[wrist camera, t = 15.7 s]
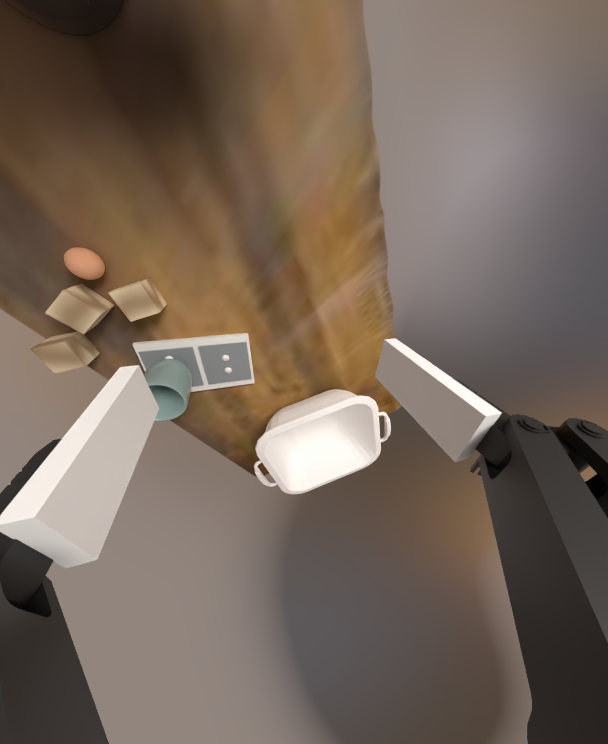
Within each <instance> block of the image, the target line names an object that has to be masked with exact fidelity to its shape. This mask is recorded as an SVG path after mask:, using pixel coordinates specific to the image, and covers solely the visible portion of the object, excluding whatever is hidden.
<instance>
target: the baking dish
mask: <svg viewBox="0 0 608 744" xmlns="http://www.w3.org/2000/svg"><path fill="white" fill-rule="evenodd" d="M380 415H384V423H385V430H384V431H385V436H384V437H383V438H382V439H380V429H379V416H380ZM390 426H391V425H390V419H389V417H388V416H387V414H386V413H385V412H379V413H378V406H377V404H376V401H375V400H373V399H372V398H370V397H367V396H357V395H355V394H353V393H351V392H349V391H345V390H338V389H334V390H328V391H325V392H323V393H320V394H318V395H315V396H312V397H310V398H307V399H305V400H302V401H299V402H297V403H294V404H292V405H289V406H287V407H284V408H282V409H280V410H279V411H278V412H276V413H275V415H274V416H273V417H272V418H271V419H270V421H269V422H268V425H267V428H266V431H265V433H264V434H263V435H262V436H261V437H260V438H259V439H258V441H257V444H256V447H255V450H256V453H257V456H258V457H259V459H260V460H259V461H257V462H256V463H255V464H254V469H255V474H256V476H257V477H258V479H259V480H260V481H261V482H262V483H263V484H264V485H265V486H269V487H273V486H275V485H277V484H278V486H279V487H280V488H281V490H282V491H284V492H285V493H288V494H300V493H304V492H307V491H310V490H312V489H315V488H317V487H319V486H322V485H324V484H326V483H329V482H331V481H334V480H336V479H339V478H341V477H343V476H346V475H348V474H351V473H353V472H355V471H358V470H360V469H363V468H365V467H366V466H368V465H370V464H371V463H372V462H374V461H375V460H376V459H377V457H378V456H379V455H380V451H381V444H380V442H383V441H385V440H387V438H388V436H389V435H390V431H391V427H390ZM260 463H263V464H264V466H265V467H266V469H267V470H268V472H269V473H270V474H271V476H272V477H273V479H274V480H275V481H276V482H274V483H270V482H268V481H267V479H266V478H265V476H264V475H263V474H262V473H261V471H260V470H259V468H258V467H257V466H258V465H259V464H260Z"/></svg>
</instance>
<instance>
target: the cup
mask: <svg viewBox="0 0 608 744" xmlns="http://www.w3.org/2000/svg"><path fill="white" fill-rule="evenodd" d="M143 375H144V377H145V379H146V381H147V383H148V386H149V388H150V390H151V392H152V394H153V396H154V398H155V400H156V402H157V405H158V407H159V411H158V413H157V415H156V418H155V420H154V421H167V420H171V419H174V418H176V417H178V416H180V415H181V414H182V413H183V412H184V411H185V410H186V408H187V406H188V402H189V399H190V395H191V390H192V383H193V379H192V374H191V371H190V369H189V368H188V367H187V365H186V364H184V363H183V362H182V361H180V360H177V359H163V360H160V361H158V362H156V363H154V364H153V365H151V366H150V367H149V368H148V369H147V370H146V371H145V372H144V374H143Z"/></svg>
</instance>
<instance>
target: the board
mask: <svg viewBox="0 0 608 744" xmlns="http://www.w3.org/2000/svg"><path fill="white" fill-rule="evenodd" d="M132 345H133V347H134V349H135V351H136V354H137V356H138V358H139V360H140V362H141V364H142V366H143V369H144V371H146V370H147V369H148V368H149V367H150V366H151V365H153V364H154V363H156V362H158V361H160V360H163V359H177V360H180V361H182V362H183V363H184V364H186V365H187V367H188V368H189V369H190V371H191V374H192V379H193V383H192V390H191V392H194V391H201V390H209V389H216V388H223V387H231V386H238V385H245V384H253V383H254V375H253V368H252V360H251V353H250V345H249V338H248V333H241V334H229V335H217V336H206V337H194V338H182V339H170V340H158V341H146V342H135V343H133V344H132Z"/></svg>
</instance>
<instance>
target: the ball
mask: <svg viewBox="0 0 608 744" xmlns="http://www.w3.org/2000/svg"><path fill="white" fill-rule="evenodd" d="M64 262H65V265H66V267H67V268H68V269H69V270H70V271H71V272H72V273H73V274H75V275H76V276H78V277H80V278H83V279H88V280H94V279H98V278H100V277H101V276H102V275H103V274H104V272H105V265H104V263H103V261H102V259H101V258H100V257H99V256H98V255H97V254H96V253H94V252H93V251H91V250H88V249H85V248H81V247H75V248H71V249H69V250H68V251H66V253H65V255H64Z"/></svg>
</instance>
